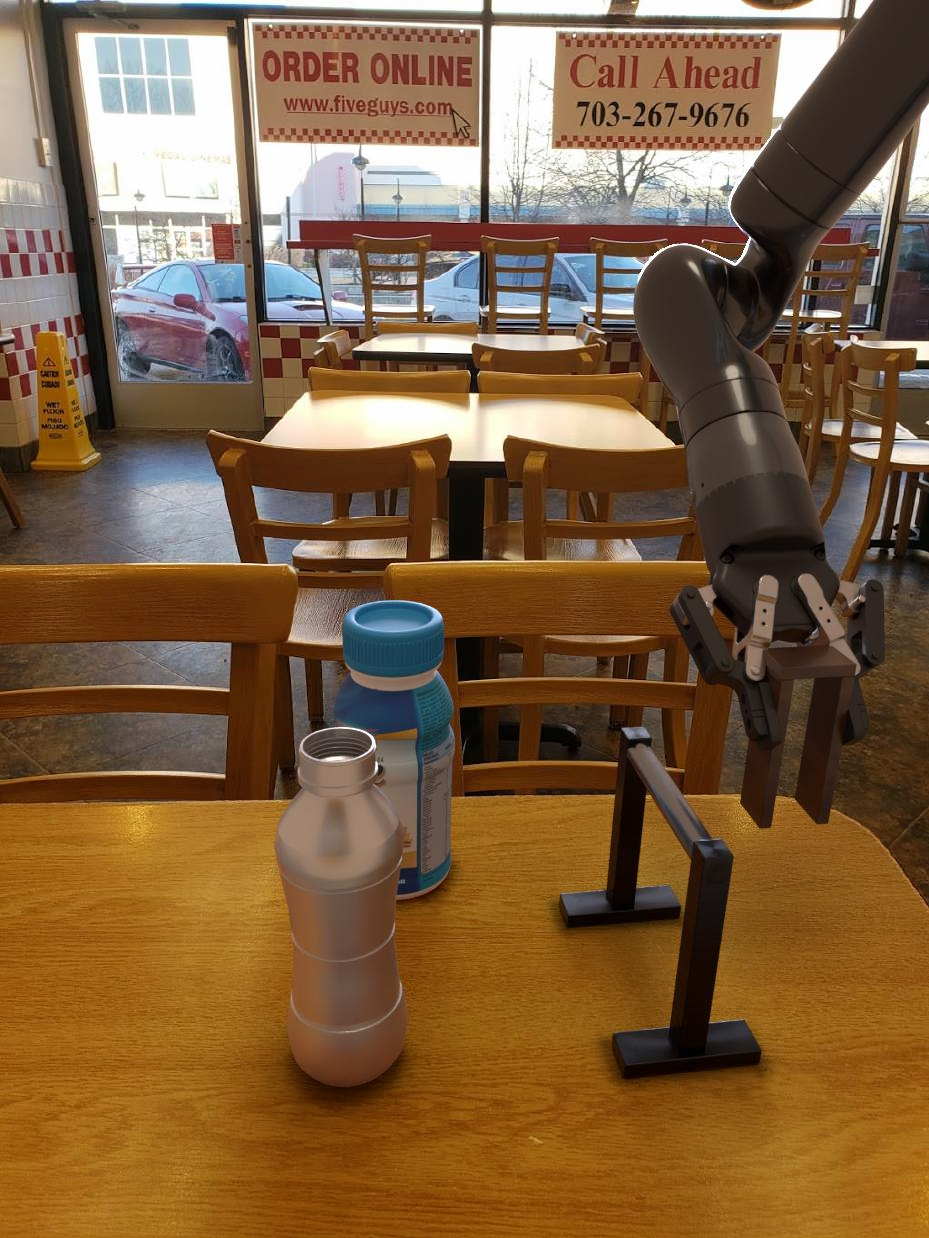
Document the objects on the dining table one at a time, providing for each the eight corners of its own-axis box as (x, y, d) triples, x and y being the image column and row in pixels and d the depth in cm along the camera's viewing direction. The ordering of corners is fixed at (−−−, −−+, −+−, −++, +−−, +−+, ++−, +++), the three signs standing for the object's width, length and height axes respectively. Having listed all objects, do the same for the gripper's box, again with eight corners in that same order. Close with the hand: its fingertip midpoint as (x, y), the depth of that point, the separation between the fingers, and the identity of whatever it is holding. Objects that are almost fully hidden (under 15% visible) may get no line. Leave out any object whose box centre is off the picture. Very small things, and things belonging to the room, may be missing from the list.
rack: (668, 896, 67) (689, 720, 62) (760, 1064, 53) (796, 856, 48) (558, 905, 66) (571, 727, 61) (623, 1079, 52) (646, 867, 47)
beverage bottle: (472, 887, 67) (478, 628, 60) (360, 918, 64) (353, 648, 57) (425, 825, 74) (426, 588, 67) (322, 851, 71) (312, 603, 64)
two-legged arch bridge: (805, 798, 62) (831, 644, 58) (828, 823, 59) (857, 664, 55) (739, 803, 61) (761, 647, 57) (759, 829, 58) (783, 667, 54)
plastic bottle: (424, 1083, 51) (425, 763, 44) (302, 1121, 49) (282, 789, 42) (389, 1001, 57) (385, 705, 50) (277, 1031, 55) (256, 725, 47)
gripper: (665, 469, 58) (721, 733, 52) (878, 465, 60) (959, 718, 54) (632, 528, 65) (677, 768, 59) (825, 523, 67) (890, 754, 61)
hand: (812, 743), depth 56 cm, fingers closed on two-legged arch bridge, 4 cm apart
